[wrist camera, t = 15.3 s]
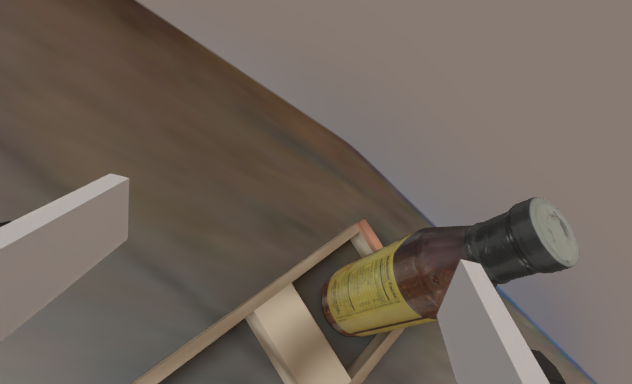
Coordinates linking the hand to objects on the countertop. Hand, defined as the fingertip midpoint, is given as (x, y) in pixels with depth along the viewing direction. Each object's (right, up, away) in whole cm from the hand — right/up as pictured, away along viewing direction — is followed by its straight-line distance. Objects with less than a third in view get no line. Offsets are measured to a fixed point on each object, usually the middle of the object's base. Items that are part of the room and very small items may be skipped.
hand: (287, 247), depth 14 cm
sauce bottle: (+4, -8, +20) cm, 22 cm away
